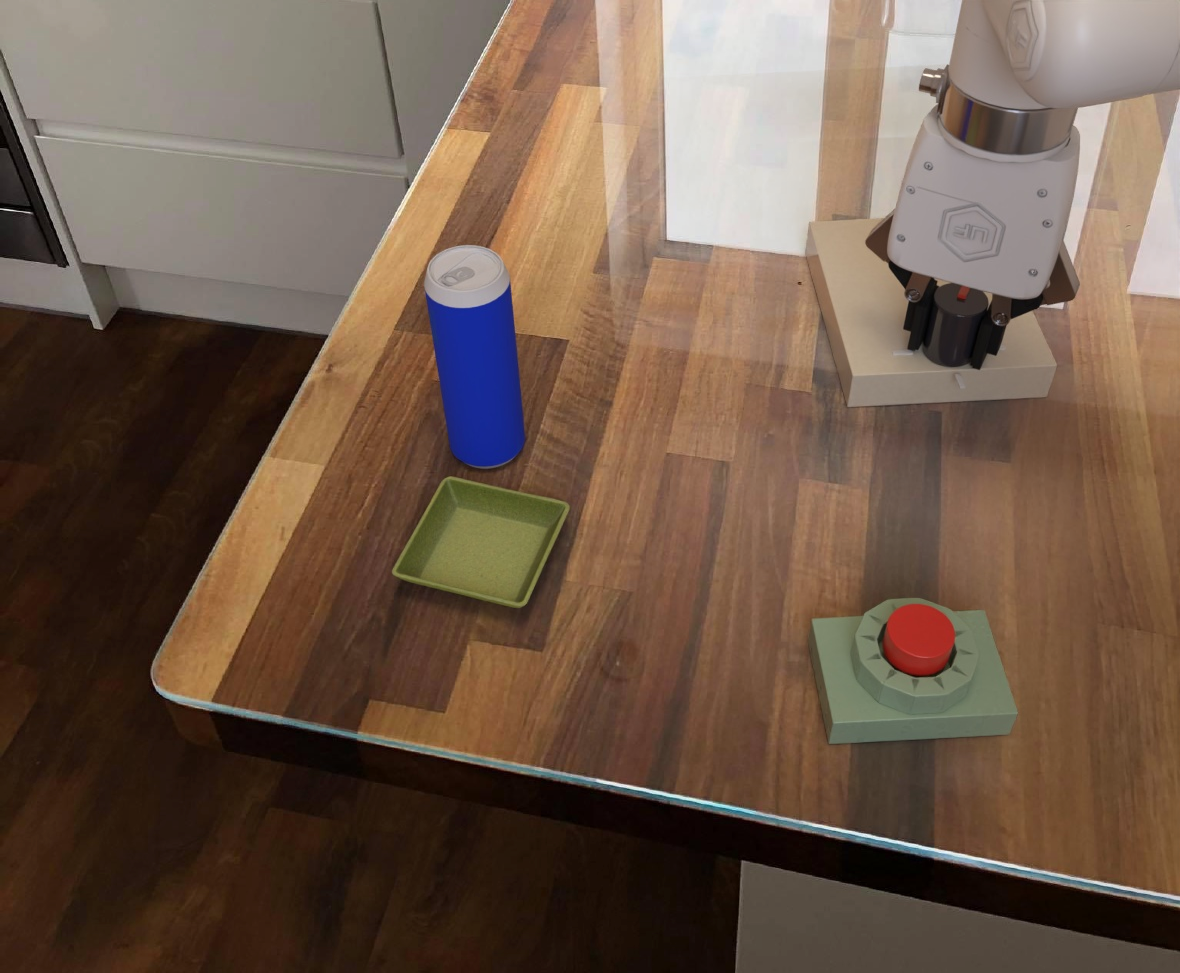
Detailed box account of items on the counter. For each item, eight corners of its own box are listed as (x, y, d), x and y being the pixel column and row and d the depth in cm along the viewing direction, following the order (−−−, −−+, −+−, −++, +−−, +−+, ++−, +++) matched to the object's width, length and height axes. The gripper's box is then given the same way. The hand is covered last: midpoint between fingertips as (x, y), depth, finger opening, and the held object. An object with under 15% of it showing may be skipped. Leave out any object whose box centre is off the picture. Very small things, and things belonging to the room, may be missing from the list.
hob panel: (979, 244, 98) (988, 210, 95) (1055, 416, 84) (1067, 382, 82) (805, 252, 97) (809, 219, 95) (852, 426, 84) (858, 392, 82)
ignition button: (940, 620, 68) (946, 601, 67) (956, 674, 66) (963, 655, 64) (876, 624, 68) (880, 604, 67) (889, 678, 66) (894, 659, 64)
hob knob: (967, 373, 83) (981, 318, 79) (915, 358, 84) (927, 303, 80) (981, 342, 85) (996, 287, 81) (930, 328, 86) (943, 272, 83)
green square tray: (448, 495, 81) (445, 473, 79) (573, 523, 79) (572, 501, 77) (393, 595, 75) (389, 574, 73) (527, 628, 73) (524, 607, 71)
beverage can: (491, 409, 86) (470, 231, 75) (541, 445, 83) (526, 266, 73) (434, 446, 84) (404, 268, 73) (484, 484, 81) (460, 306, 70)
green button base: (976, 631, 72) (991, 589, 69) (1009, 734, 67) (1026, 694, 64) (807, 640, 72) (814, 598, 69) (828, 744, 67) (836, 704, 64)
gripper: (849, 106, 71) (815, 346, 85) (1145, 172, 66) (1058, 418, 79) (889, 48, 76) (851, 285, 89) (1169, 106, 70) (1084, 350, 84)
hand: (949, 345), depth 84 cm, fingers closed on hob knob, 3 cm apart
